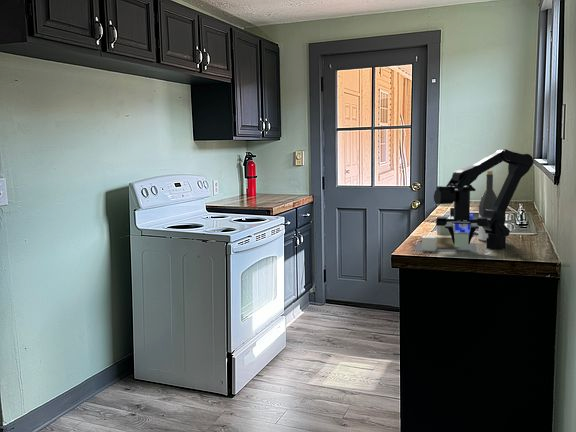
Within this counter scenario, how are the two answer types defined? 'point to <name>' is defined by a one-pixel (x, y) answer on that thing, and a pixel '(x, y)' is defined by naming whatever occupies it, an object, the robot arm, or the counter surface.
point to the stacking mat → (444, 231)
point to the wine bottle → (486, 203)
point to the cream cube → (429, 243)
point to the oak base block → (444, 241)
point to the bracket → (463, 229)
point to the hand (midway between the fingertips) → (461, 243)
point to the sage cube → (461, 239)
